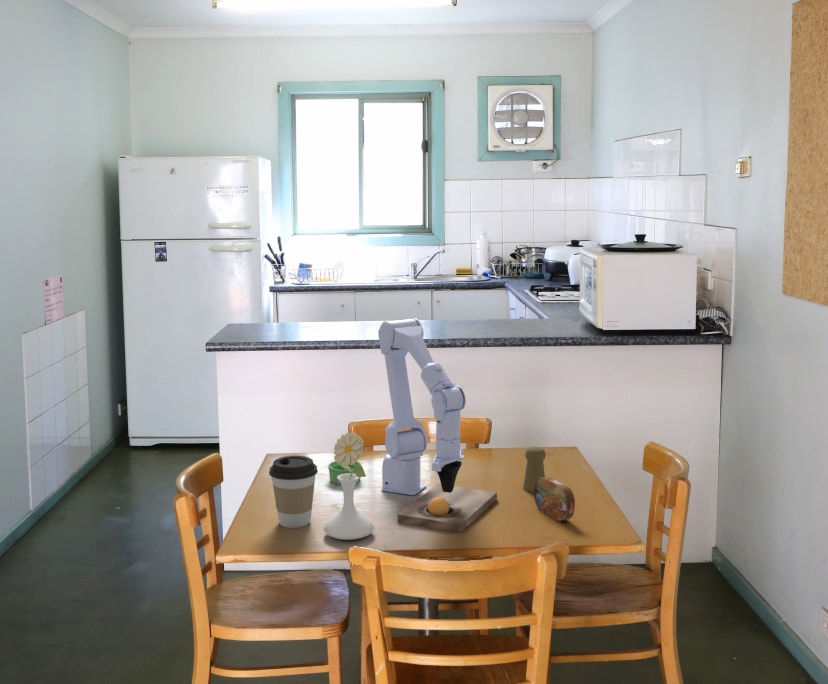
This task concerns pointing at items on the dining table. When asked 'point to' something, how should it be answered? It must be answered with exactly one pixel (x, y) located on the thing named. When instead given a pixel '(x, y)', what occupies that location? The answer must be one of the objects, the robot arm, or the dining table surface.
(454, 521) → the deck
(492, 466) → the dining table surface
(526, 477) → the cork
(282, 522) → the coffee cup
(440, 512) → the ball
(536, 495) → the tin
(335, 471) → the ramekin
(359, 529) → the flower in vase
